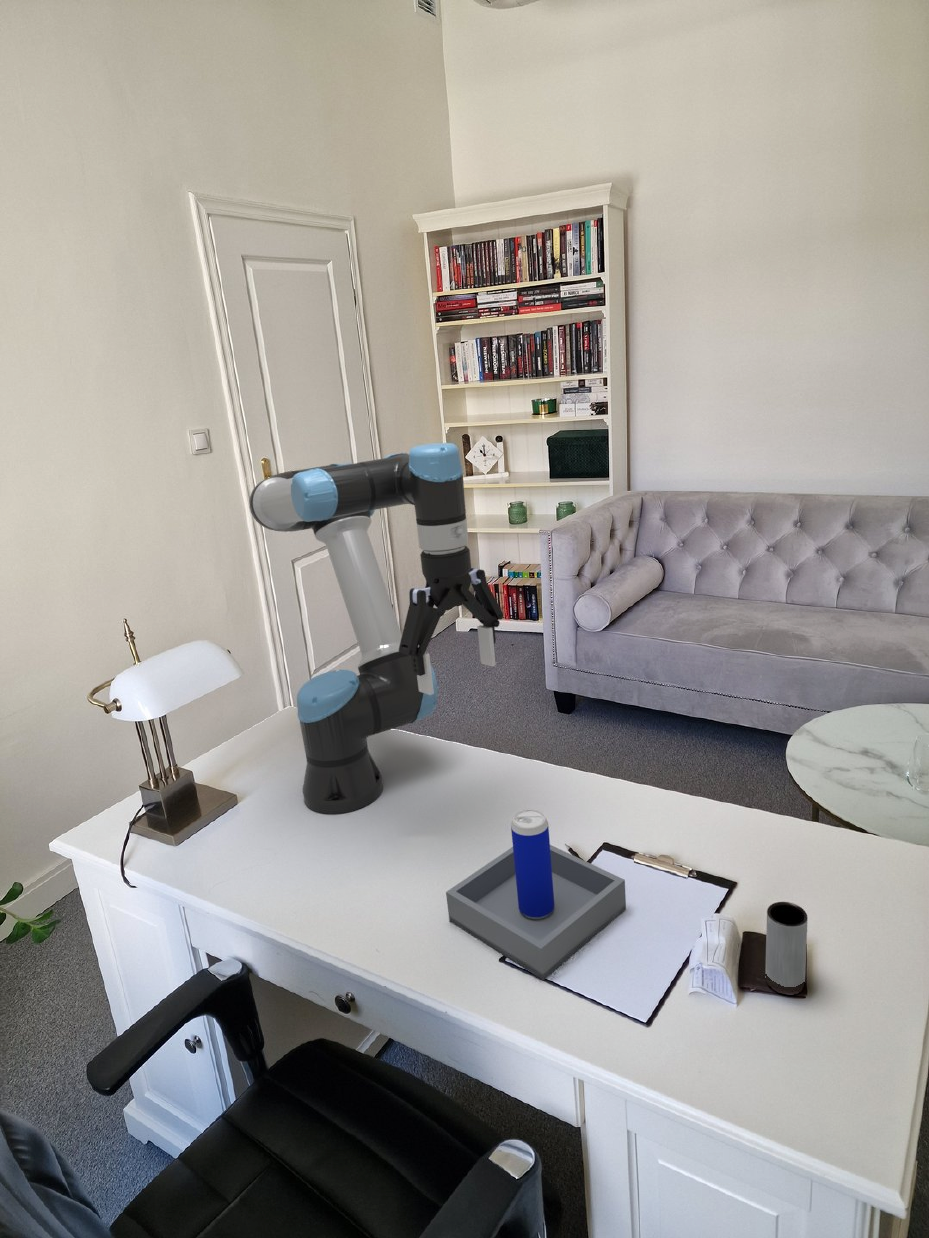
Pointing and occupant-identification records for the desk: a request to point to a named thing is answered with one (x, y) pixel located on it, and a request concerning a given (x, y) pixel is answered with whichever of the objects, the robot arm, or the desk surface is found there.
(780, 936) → the grey cylinder
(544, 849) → the beverage can
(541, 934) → the bin
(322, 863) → the desk surface
